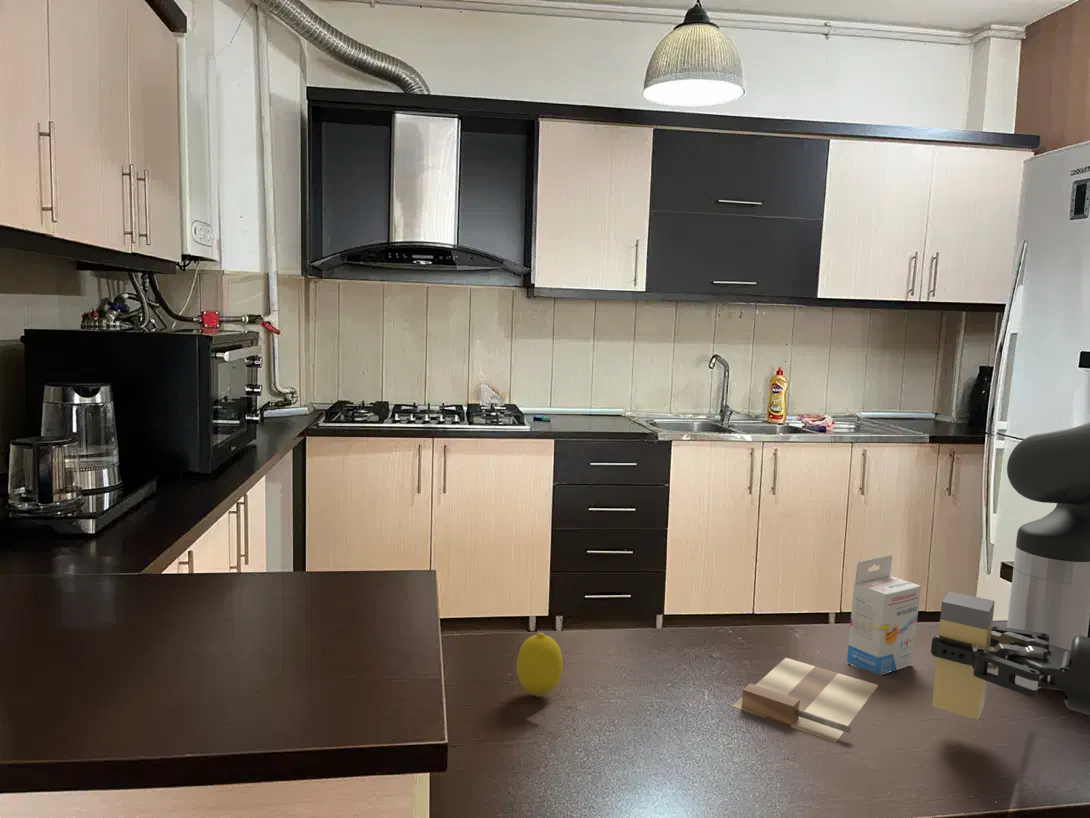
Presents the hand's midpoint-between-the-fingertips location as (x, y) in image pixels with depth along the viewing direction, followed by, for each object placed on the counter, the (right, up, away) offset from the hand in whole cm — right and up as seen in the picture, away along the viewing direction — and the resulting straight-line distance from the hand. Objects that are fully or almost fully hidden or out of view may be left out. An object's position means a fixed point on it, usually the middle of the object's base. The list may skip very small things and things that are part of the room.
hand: (937, 638), depth 87 cm
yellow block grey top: (+2, -7, -1) cm, 8 cm away
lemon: (-45, -9, +7) cm, 47 cm away
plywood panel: (-12, -10, +8) cm, 18 cm away
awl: (-16, -10, +2) cm, 19 cm away
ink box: (+2, -10, +20) cm, 23 cm away
